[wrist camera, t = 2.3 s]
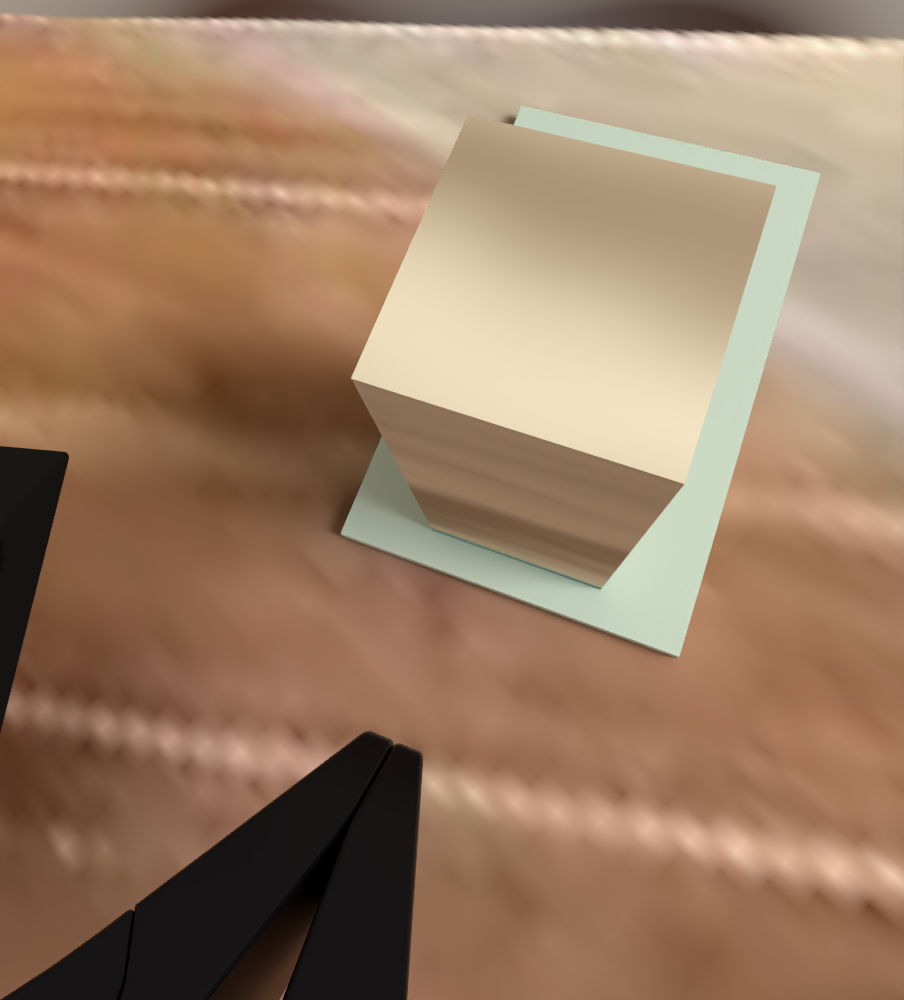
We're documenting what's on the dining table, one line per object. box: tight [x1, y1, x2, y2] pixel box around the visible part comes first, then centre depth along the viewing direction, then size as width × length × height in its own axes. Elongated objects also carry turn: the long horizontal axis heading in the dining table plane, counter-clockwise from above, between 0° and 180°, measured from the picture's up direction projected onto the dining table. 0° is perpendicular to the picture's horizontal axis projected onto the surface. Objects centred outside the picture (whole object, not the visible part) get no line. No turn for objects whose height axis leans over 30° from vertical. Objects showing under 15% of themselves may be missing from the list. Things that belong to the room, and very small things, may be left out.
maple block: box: [351, 115, 776, 590], centre depth 15 cm, size 5×5×10 cm
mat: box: [341, 106, 821, 658], centre depth 21 cm, size 16×10×1 cm, turn 159°
